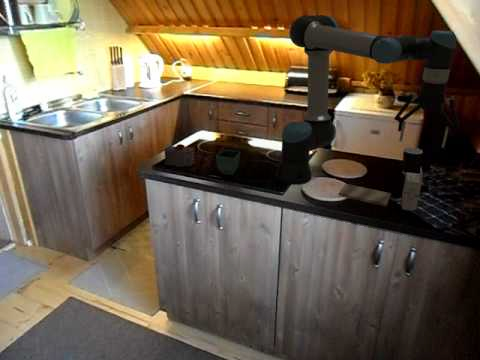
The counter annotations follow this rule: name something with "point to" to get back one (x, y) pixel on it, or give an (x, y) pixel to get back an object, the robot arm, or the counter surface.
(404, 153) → the dixie cup
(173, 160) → the food item
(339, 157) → the counter surface
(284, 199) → the counter surface
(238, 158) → the flower pot
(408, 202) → the ink cartridge box
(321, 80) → the robot arm
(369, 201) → the birch board
